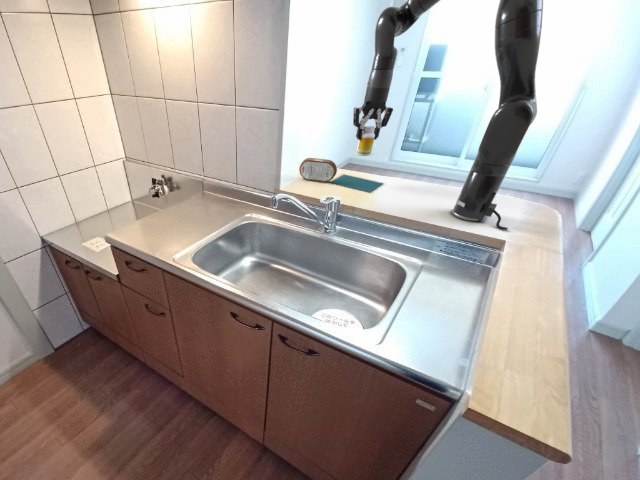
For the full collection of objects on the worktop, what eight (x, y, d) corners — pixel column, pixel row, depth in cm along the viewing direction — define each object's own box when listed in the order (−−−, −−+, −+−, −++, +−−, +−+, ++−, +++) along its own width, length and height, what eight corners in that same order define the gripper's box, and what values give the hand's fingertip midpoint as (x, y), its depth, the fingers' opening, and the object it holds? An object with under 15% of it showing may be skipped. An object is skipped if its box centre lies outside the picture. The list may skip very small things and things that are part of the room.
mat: (382, 183, 132) (382, 183, 131) (369, 192, 124) (369, 191, 124) (344, 175, 140) (344, 174, 140) (329, 182, 132) (329, 182, 132)
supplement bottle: (372, 156, 122) (379, 128, 116) (357, 156, 122) (364, 127, 116) (368, 152, 127) (374, 125, 121) (354, 152, 127) (360, 124, 121)
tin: (335, 181, 133) (338, 160, 128) (333, 183, 131) (337, 162, 125) (299, 177, 138) (301, 156, 133) (297, 179, 136) (299, 158, 130)
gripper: (362, 86, 107) (351, 142, 118) (404, 86, 108) (389, 141, 119) (354, 84, 113) (344, 137, 124) (393, 84, 114) (380, 136, 125)
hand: (366, 139), depth 121 cm, fingers closed on supplement bottle, 5 cm apart
